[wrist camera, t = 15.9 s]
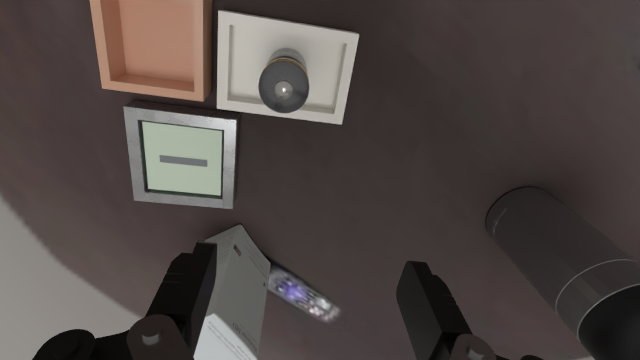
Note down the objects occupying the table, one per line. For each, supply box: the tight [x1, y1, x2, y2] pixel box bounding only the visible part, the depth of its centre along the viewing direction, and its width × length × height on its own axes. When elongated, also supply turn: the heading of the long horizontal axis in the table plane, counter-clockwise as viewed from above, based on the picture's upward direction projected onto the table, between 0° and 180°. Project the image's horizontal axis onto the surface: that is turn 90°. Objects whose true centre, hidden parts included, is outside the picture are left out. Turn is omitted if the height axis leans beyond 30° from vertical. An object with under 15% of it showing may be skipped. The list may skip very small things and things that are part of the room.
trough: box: [217, 10, 359, 125], centre depth 34 cm, size 13×9×2 cm
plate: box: [142, 120, 224, 195], centre depth 38 cm, size 8×8×2 cm
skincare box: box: [193, 224, 271, 360], centre depth 40 cm, size 8×6×15 cm
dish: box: [90, 0, 213, 101], centre depth 31 cm, size 9×9×4 cm
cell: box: [258, 48, 309, 113], centre depth 30 cm, size 4×4×10 cm
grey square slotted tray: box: [123, 100, 240, 209], centre depth 38 cm, size 11×11×2 cm
